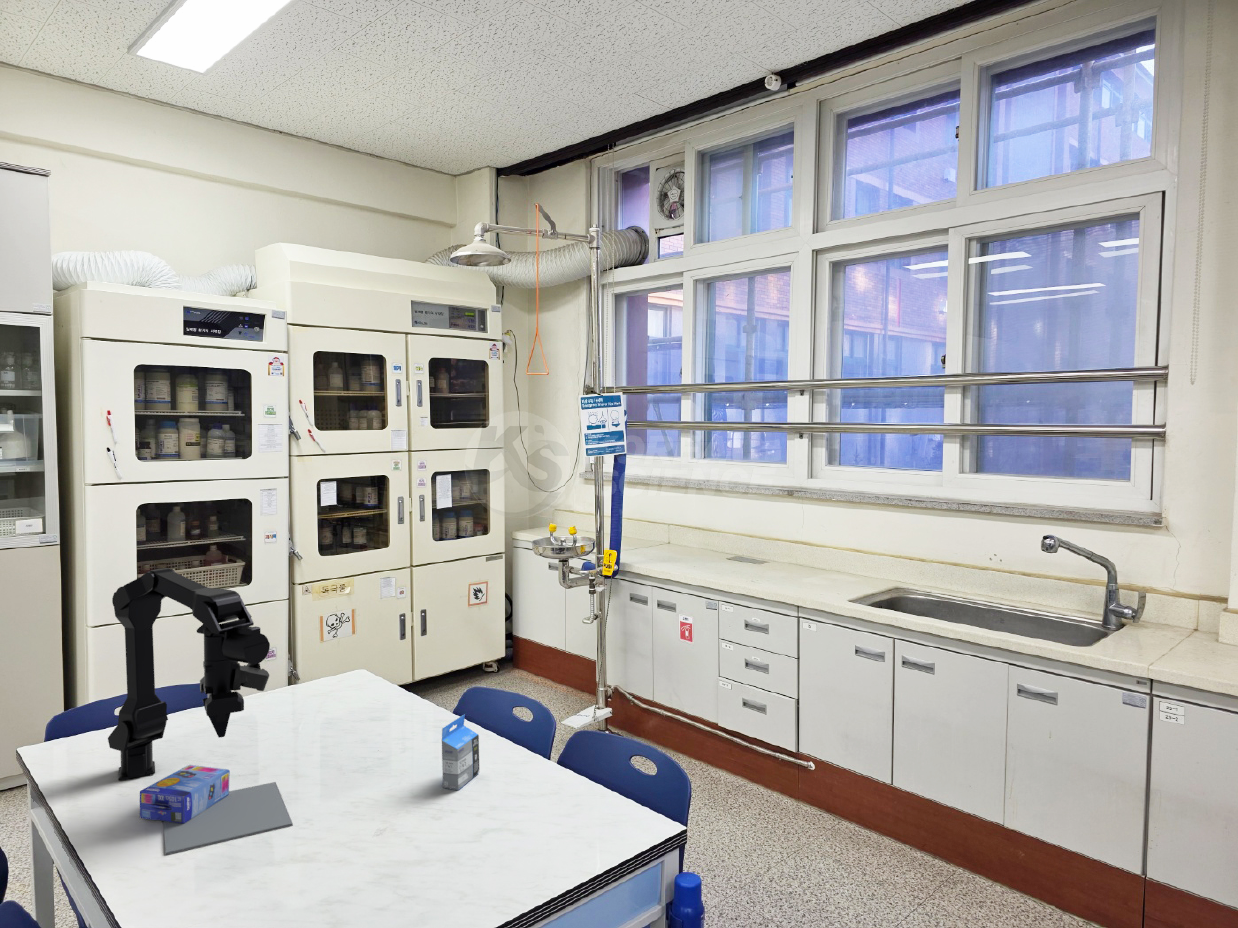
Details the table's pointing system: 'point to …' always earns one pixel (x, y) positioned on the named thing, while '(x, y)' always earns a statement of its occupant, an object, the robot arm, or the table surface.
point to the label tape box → (459, 754)
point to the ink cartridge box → (184, 794)
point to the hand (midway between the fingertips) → (221, 736)
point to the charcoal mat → (230, 819)
